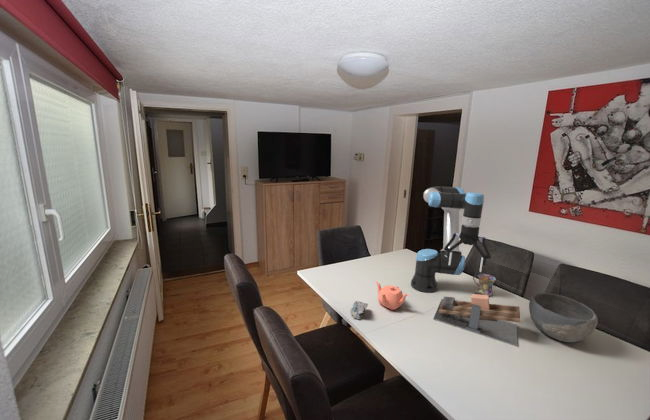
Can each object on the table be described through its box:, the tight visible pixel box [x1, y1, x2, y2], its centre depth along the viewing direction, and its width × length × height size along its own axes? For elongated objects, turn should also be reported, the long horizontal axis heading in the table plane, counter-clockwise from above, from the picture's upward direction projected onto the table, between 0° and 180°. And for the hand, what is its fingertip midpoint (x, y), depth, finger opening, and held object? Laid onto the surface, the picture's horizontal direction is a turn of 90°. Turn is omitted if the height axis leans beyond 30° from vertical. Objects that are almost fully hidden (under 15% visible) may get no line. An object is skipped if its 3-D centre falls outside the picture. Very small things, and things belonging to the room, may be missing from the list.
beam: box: [438, 296, 522, 323], centre depth 138 cm, size 34×12×7 cm, turn 58°
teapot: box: [375, 281, 410, 311], centre depth 152 cm, size 14×14×11 cm
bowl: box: [528, 292, 599, 343], centre depth 131 cm, size 24×24×15 cm
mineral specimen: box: [350, 300, 369, 320], centre depth 143 cm, size 10×8×10 cm
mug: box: [472, 273, 497, 297], centre depth 169 cm, size 12×9×11 cm
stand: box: [432, 290, 518, 347], centre depth 138 cm, size 35×18×13 cm, turn 58°
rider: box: [470, 293, 490, 310], centre depth 137 cm, size 7×4×7 cm, turn 58°
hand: (464, 267), depth 138 cm, fingers open, 13 cm apart
